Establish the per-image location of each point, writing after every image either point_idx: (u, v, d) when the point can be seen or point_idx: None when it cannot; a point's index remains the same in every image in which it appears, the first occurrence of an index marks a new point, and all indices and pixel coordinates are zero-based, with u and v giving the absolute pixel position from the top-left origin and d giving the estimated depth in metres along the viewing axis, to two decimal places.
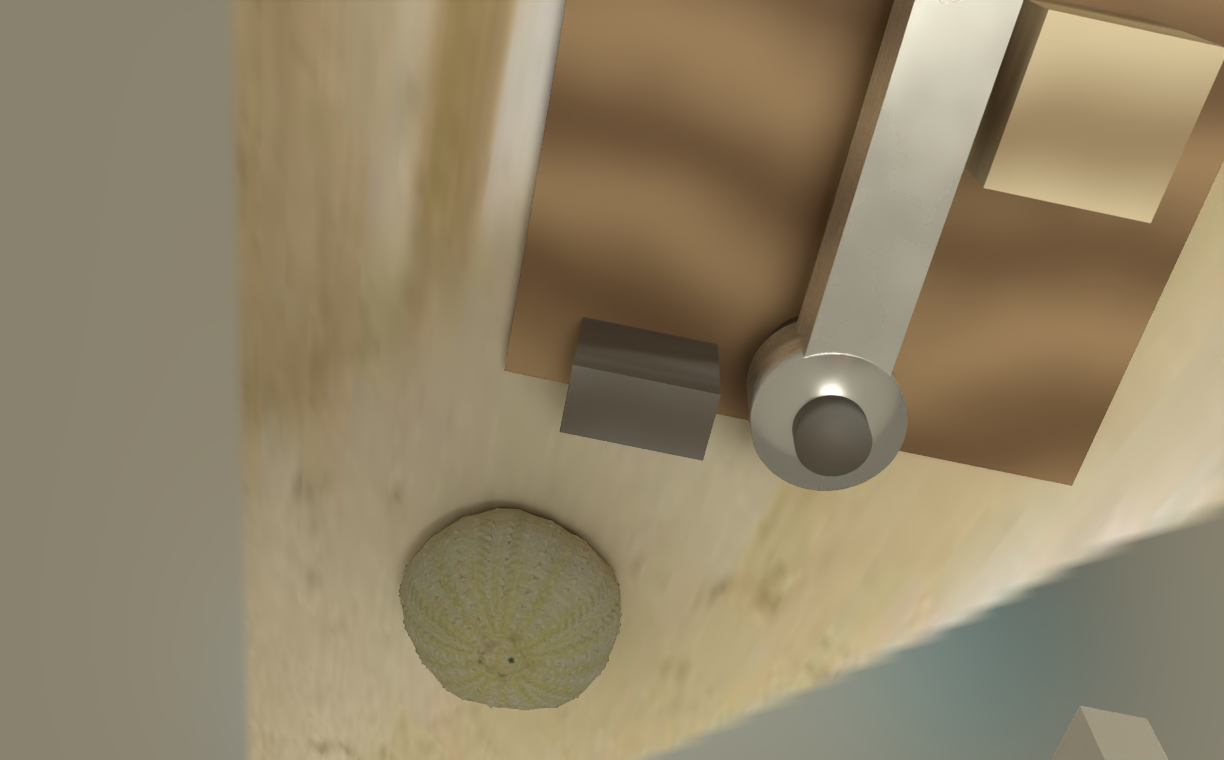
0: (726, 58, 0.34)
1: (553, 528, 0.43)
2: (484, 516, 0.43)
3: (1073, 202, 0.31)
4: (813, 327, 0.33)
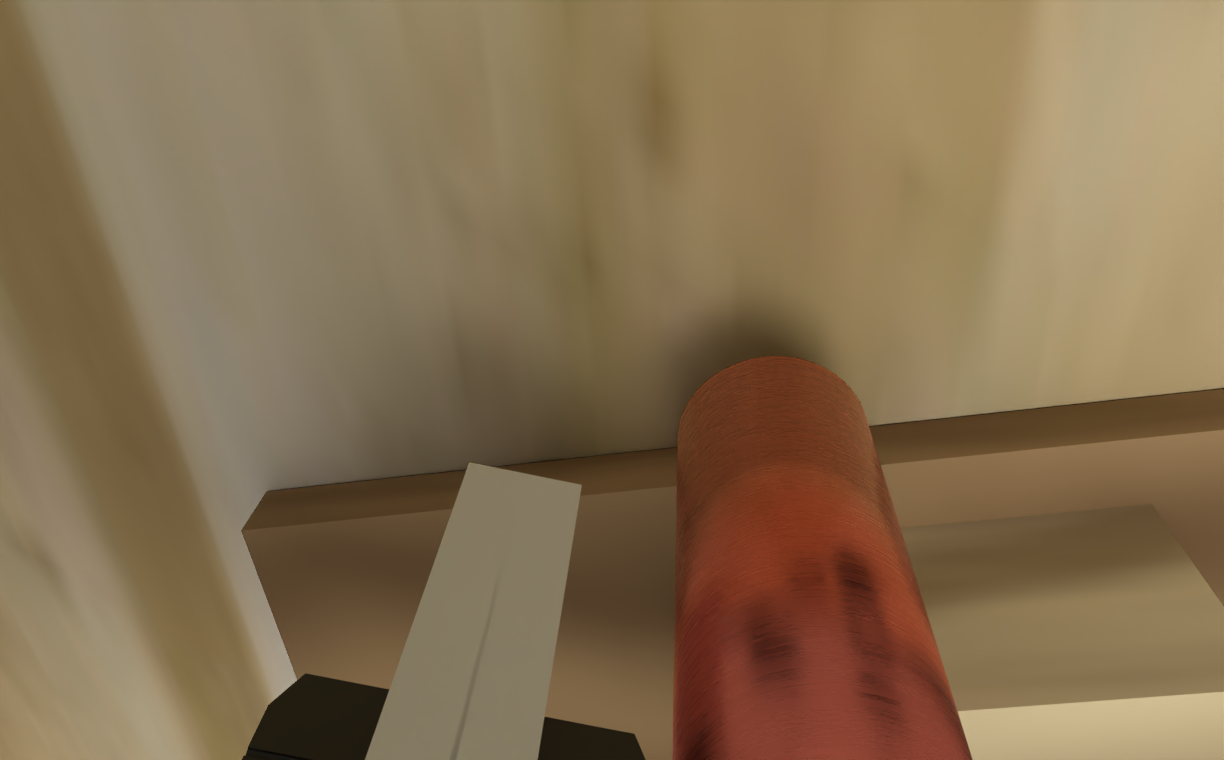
0: None
1: None
2: None
3: None
4: None
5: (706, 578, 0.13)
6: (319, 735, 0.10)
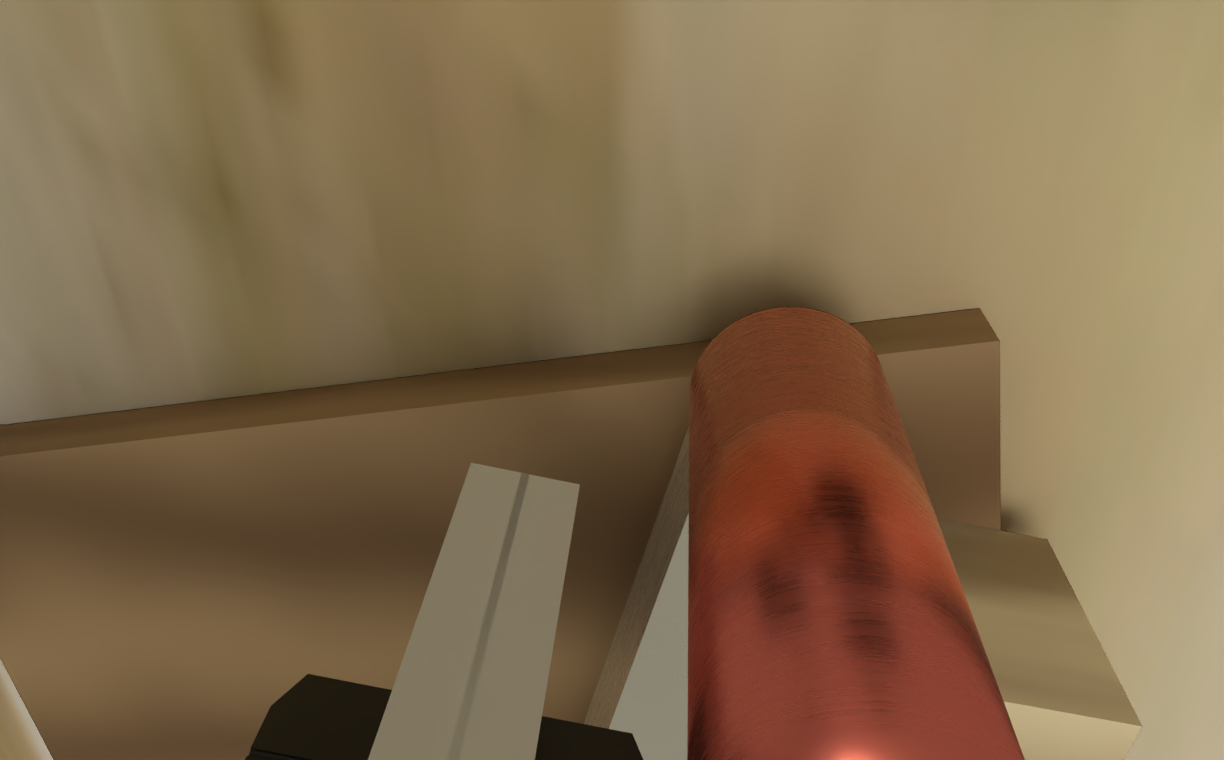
0: (225, 645, 0.24)
1: None
2: None
3: None
4: None
5: (769, 490, 0.12)
6: (322, 735, 0.10)
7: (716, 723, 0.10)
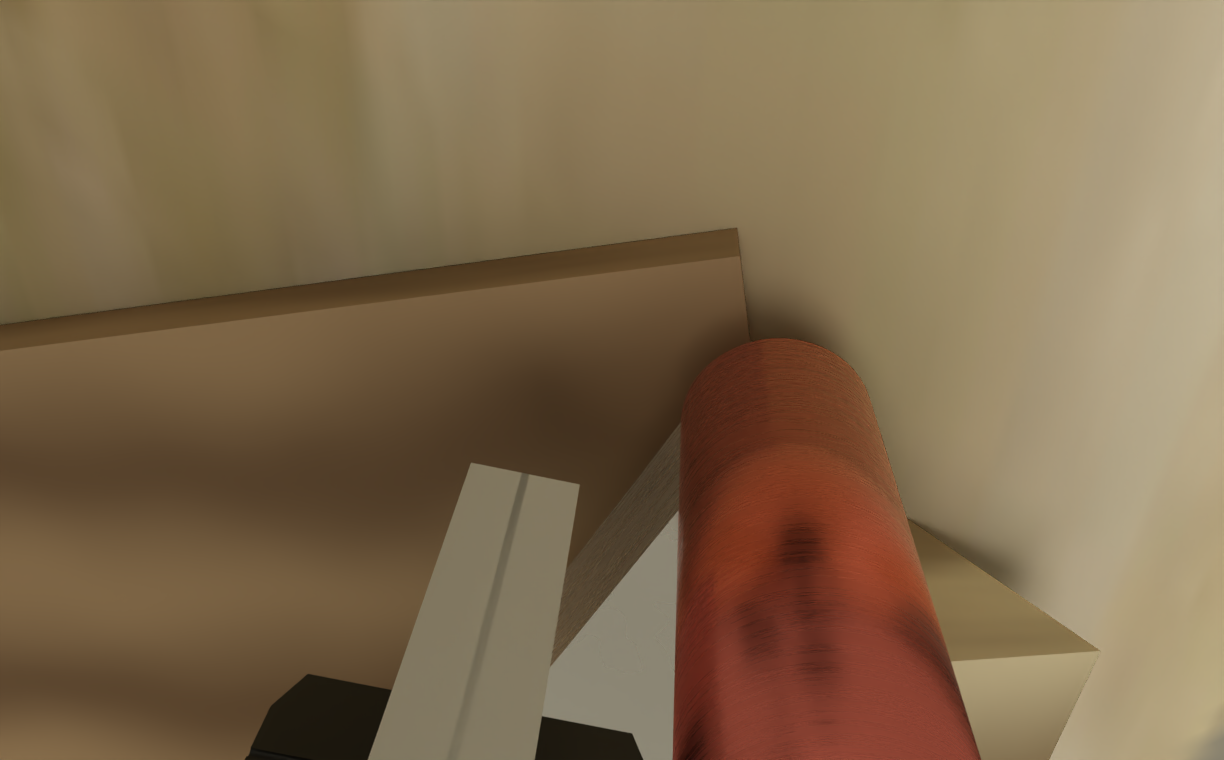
0: (8, 578, 0.23)
1: None
2: None
3: None
4: None
5: (792, 522, 0.13)
6: (322, 735, 0.10)
7: (731, 742, 0.10)
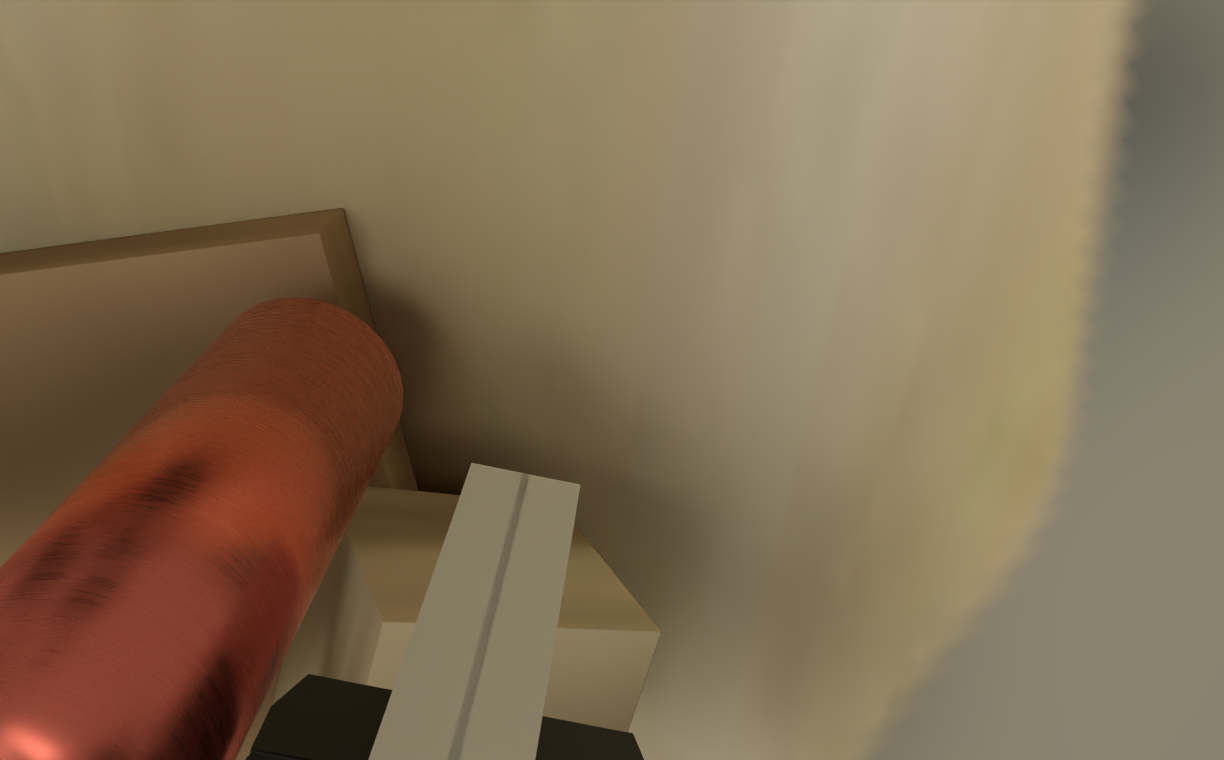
0: None
1: None
2: None
3: None
4: None
5: (133, 463, 0.13)
6: (322, 735, 0.10)
7: None
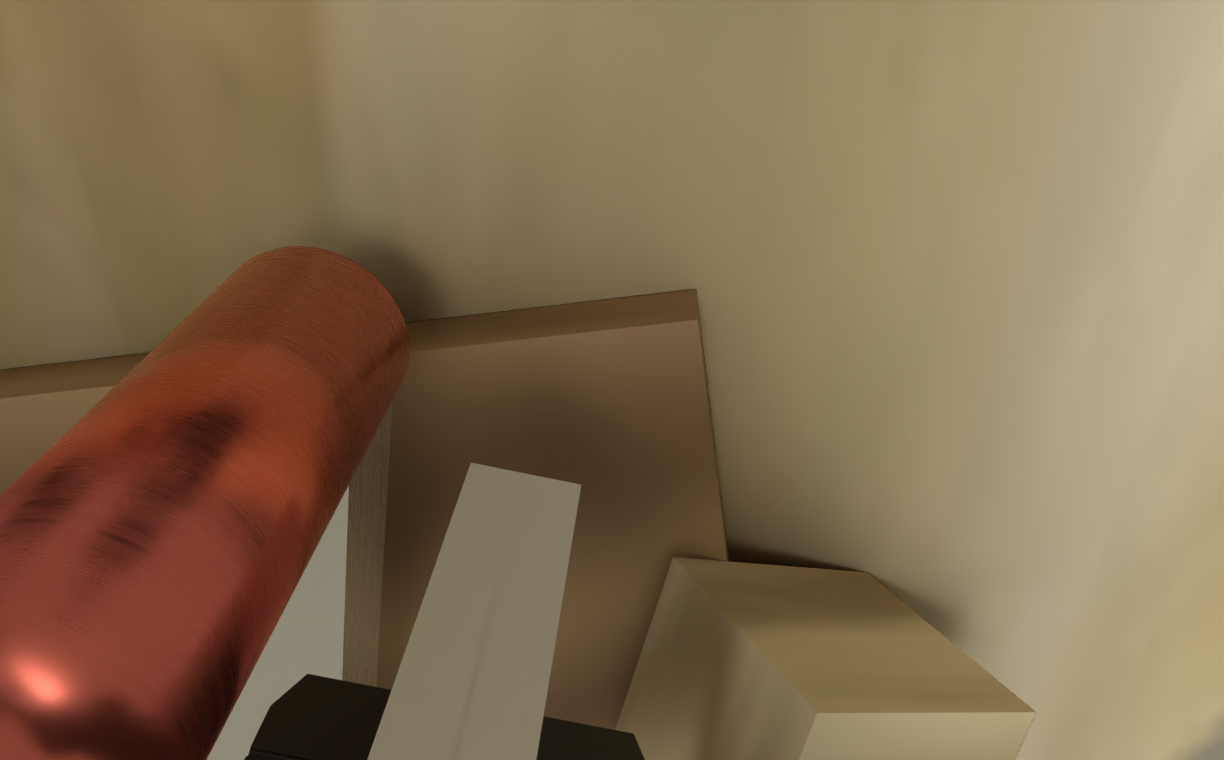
0: None
1: None
2: None
3: None
4: None
5: (85, 415, 0.12)
6: (321, 735, 0.10)
7: None
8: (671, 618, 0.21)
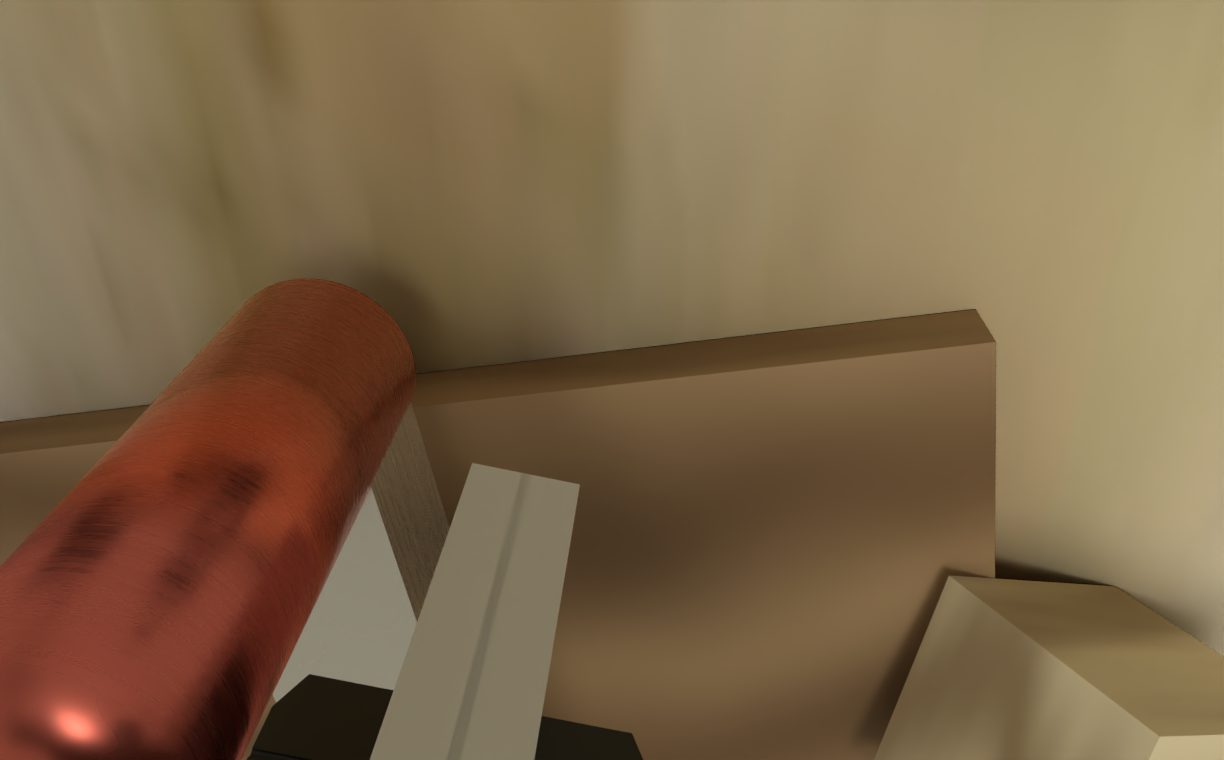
0: None
1: None
2: None
3: None
4: None
5: None
6: (323, 736, 0.10)
7: None
8: (951, 637, 0.21)
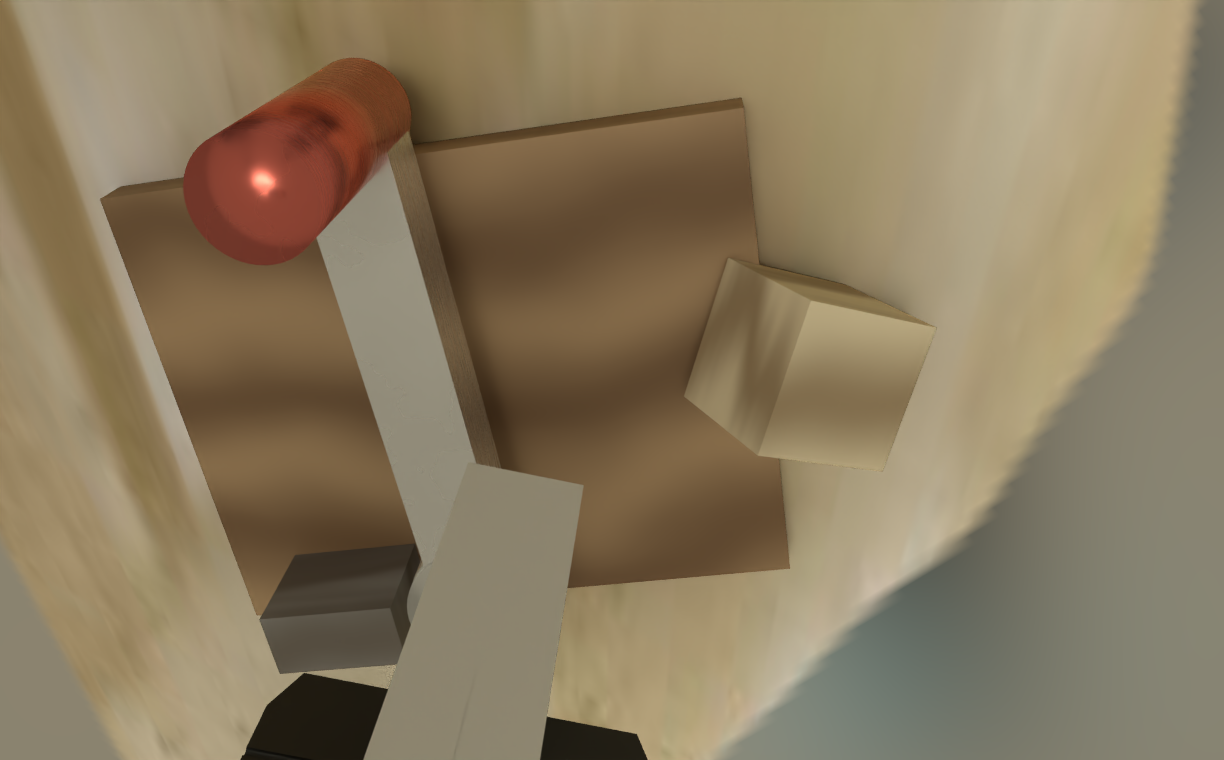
0: (293, 321, 0.38)
1: None
2: None
3: (826, 460, 0.34)
4: (416, 541, 0.36)
5: None
6: (317, 734, 0.10)
7: None
8: (727, 291, 0.35)
